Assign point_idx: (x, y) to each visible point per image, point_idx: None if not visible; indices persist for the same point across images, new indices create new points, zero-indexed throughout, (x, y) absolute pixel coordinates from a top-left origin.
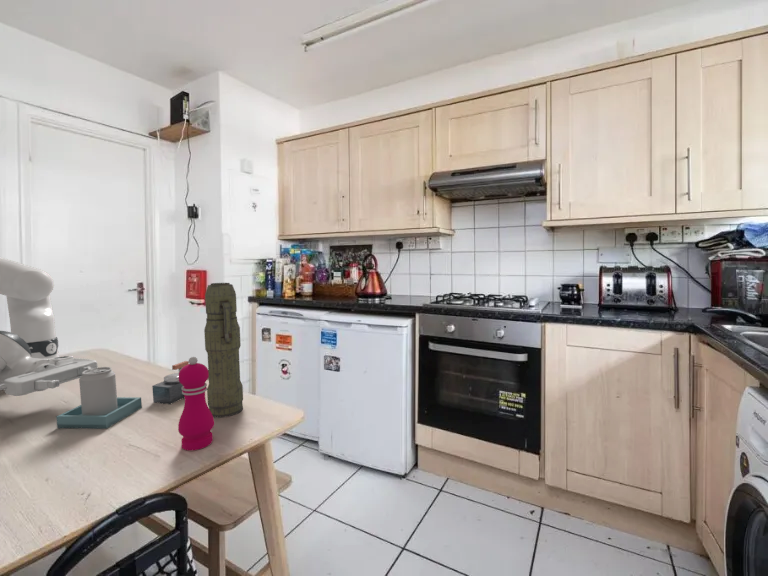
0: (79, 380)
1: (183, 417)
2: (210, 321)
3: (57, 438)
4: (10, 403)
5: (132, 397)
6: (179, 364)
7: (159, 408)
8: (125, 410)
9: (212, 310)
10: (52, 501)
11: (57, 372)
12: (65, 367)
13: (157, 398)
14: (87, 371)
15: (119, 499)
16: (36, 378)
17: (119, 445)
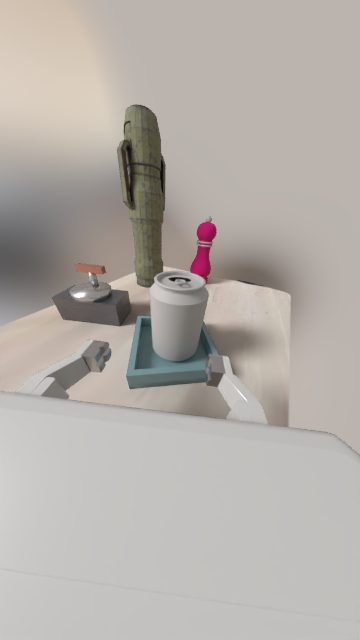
0: (205, 301)
1: (209, 262)
2: (159, 181)
3: (235, 353)
4: None
5: (136, 323)
6: (96, 265)
7: (142, 313)
8: None
9: (160, 164)
10: (270, 300)
11: (159, 412)
12: (44, 470)
13: (122, 316)
14: (182, 290)
15: (249, 286)
16: (264, 426)
17: (217, 304)
